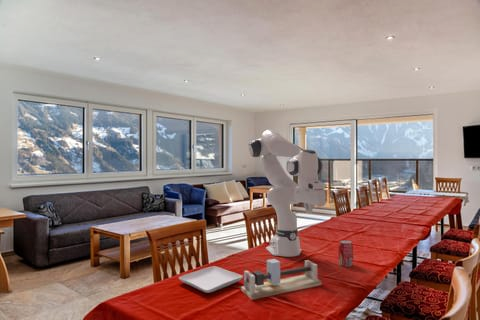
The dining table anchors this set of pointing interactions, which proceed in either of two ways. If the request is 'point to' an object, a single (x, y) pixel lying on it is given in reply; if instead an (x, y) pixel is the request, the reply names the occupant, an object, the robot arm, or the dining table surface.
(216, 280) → the salad plate
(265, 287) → the linear slide rail
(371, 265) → the dining table surface
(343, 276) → the dining table surface
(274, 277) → the slide rail carriage
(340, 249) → the soda can
